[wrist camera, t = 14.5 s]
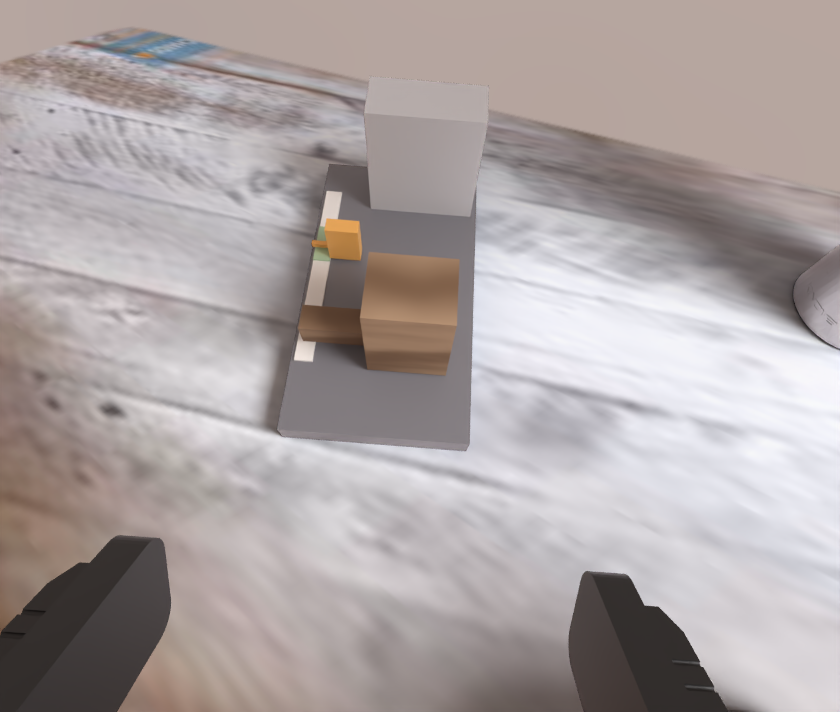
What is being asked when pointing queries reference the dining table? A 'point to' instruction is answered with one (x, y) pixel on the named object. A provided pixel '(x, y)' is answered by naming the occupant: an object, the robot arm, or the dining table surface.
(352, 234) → the pointer
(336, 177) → the gauge base
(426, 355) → the brown block
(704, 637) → the dining table surface
